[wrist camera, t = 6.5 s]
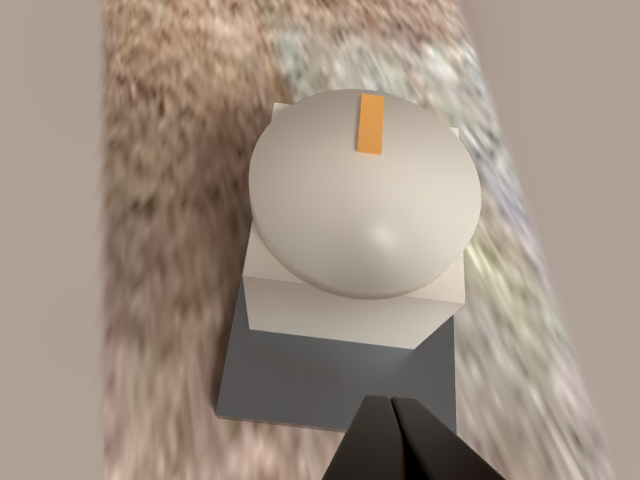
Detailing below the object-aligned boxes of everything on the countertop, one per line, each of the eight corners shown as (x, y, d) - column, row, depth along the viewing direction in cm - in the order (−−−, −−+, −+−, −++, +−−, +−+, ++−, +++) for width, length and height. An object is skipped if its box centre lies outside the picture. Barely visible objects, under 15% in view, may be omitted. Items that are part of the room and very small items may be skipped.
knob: (421, 357, 20) (490, 301, 14) (241, 335, 20) (227, 267, 14) (421, 203, 24) (477, 101, 17) (267, 182, 24) (267, 71, 17)
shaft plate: (448, 444, 20) (523, 429, 14) (217, 418, 20) (195, 391, 14) (443, 197, 25) (496, 111, 19) (262, 172, 25) (260, 77, 19)
